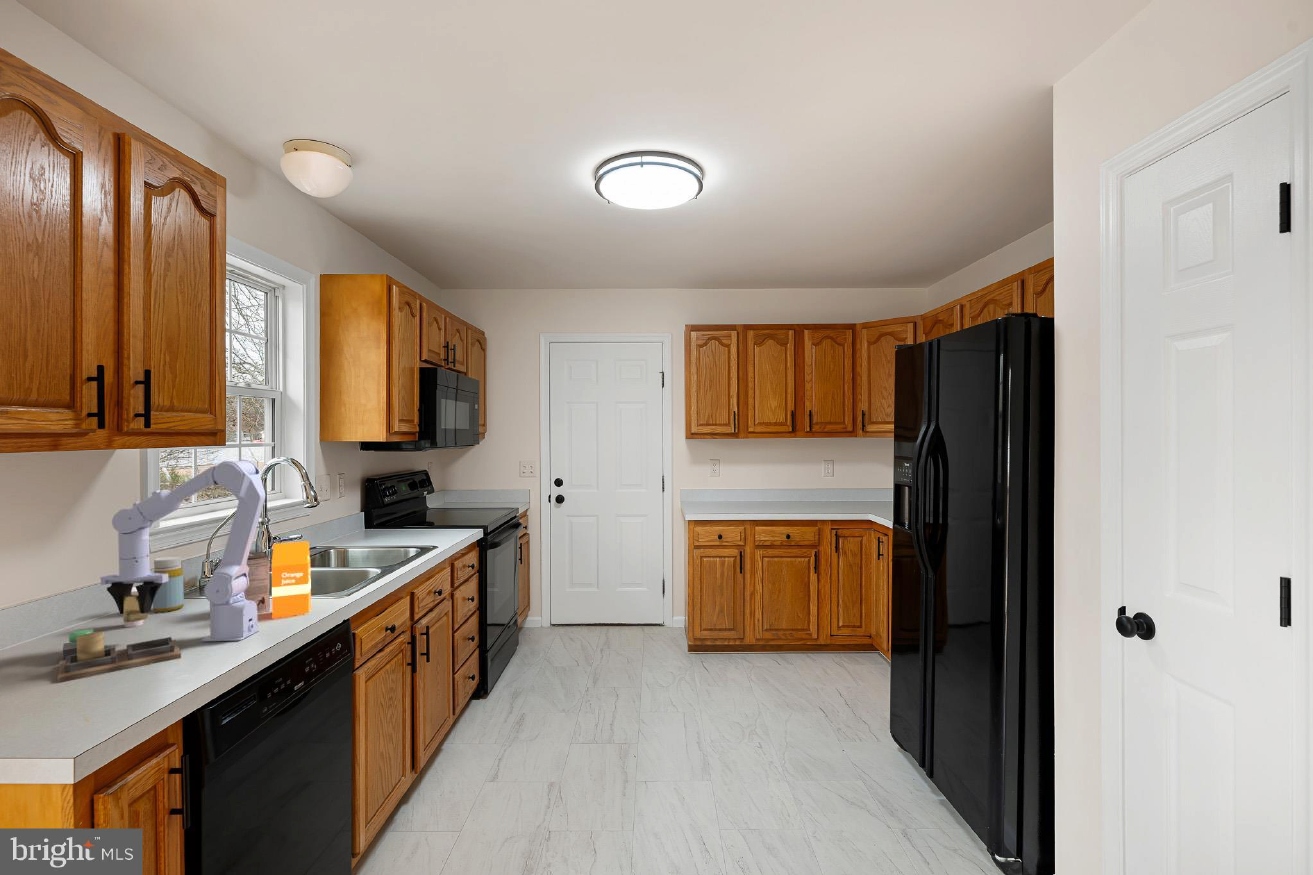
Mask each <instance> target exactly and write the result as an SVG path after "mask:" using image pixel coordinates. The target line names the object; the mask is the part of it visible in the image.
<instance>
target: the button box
mask: <svg viewBox="0 0 1313 875" xmlns="http://www.w3.org/2000/svg"><path fill="white" fill-rule="evenodd" d="M62 647H63V648H62V661H64V660H66V656H69V655H75V654H77V642H67V643H66V642H65V643H63V645H62Z"/></svg>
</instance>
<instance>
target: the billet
mask: <svg viewBox="0 0 1313 875" xmlns="http://www.w3.org/2000/svg"><path fill="white" fill-rule="evenodd" d="M123 614H124V618H123V622H135V621H140V620H146V619H148V612H147V613H145V614H141V610H140V598H139V594H138V593H133V594H128V595H125V596H123ZM123 614H122V615H123Z"/></svg>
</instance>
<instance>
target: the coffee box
mask: <svg viewBox="0 0 1313 875" xmlns="http://www.w3.org/2000/svg"><path fill="white" fill-rule="evenodd" d="M246 564H247V566H248V567H249V571H248V579H249V585H248V588H247V589H246V590H245V591H244V595H245V599H246V600H249V601H254V602H255V603H256V605H257V614H259V613H260V614H261V613H264V612H265V611H266V612H270V610H271V609H270V604H271V603H270V602H271V601H270V597H271V596H270V555H269V554H266V553H265V552H263V551H255V552H249V555H248V559H247V562H246Z"/></svg>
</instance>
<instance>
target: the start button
mask: <svg viewBox="0 0 1313 875" xmlns="http://www.w3.org/2000/svg"><path fill="white" fill-rule="evenodd" d="M89 633H94V629H93V628H84V629H77V630H73V631H70V632H69V633H68V640H69V641H68V643H70V642H77V637H78V636H81V635H84V634H89Z"/></svg>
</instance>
